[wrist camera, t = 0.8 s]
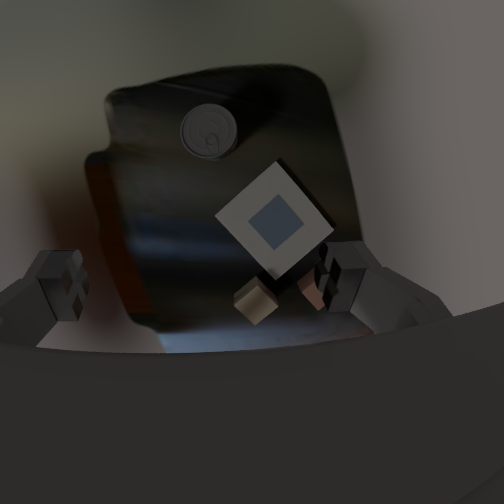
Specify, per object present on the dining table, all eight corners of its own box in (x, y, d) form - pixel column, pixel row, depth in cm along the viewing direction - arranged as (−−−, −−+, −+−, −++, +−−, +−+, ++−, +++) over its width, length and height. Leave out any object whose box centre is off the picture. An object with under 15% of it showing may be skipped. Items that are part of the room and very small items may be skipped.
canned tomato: (187, 124, 48) (174, 112, 37) (231, 111, 48) (229, 96, 37) (198, 166, 50) (187, 165, 39) (242, 154, 50) (243, 149, 39)
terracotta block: (331, 282, 57) (339, 292, 52) (312, 299, 58) (318, 310, 53) (316, 264, 56) (323, 273, 51) (296, 282, 56) (301, 292, 52)
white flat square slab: (331, 228, 54) (334, 230, 53) (274, 278, 56) (275, 280, 55) (275, 161, 50) (276, 161, 49) (215, 214, 52) (214, 215, 51)
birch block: (275, 295, 57) (278, 306, 52) (253, 312, 58) (254, 325, 53) (255, 275, 56) (257, 285, 51) (234, 293, 57) (233, 305, 52)
